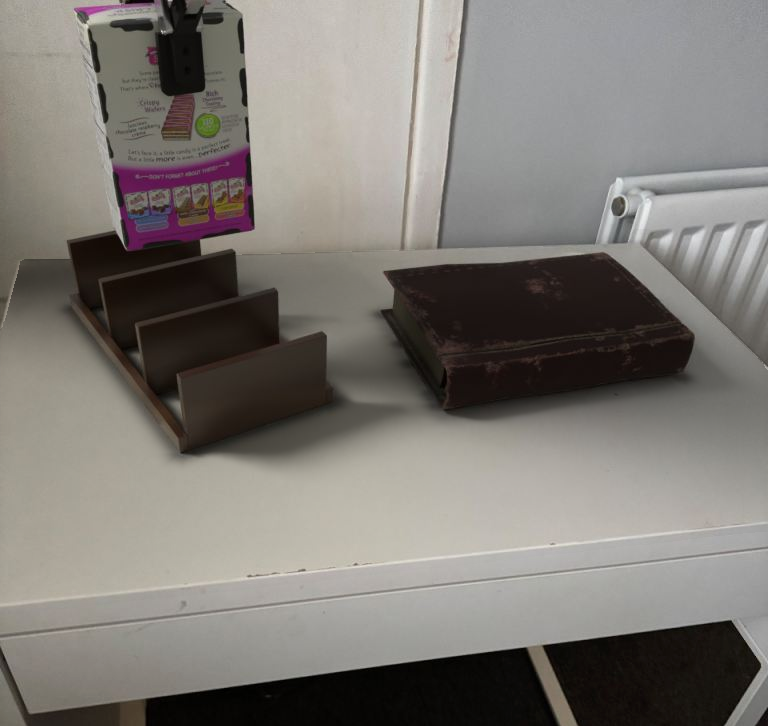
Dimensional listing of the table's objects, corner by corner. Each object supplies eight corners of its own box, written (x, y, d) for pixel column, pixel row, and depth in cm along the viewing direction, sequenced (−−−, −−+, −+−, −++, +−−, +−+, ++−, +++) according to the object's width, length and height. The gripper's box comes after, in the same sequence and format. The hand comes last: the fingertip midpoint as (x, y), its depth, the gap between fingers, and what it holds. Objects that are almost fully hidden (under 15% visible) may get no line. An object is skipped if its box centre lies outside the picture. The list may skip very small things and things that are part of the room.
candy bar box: (235, 208, 74) (223, -5, 62) (256, 232, 71) (247, 13, 59) (108, 227, 69) (70, 2, 58) (124, 253, 66) (87, 22, 55)
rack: (72, 308, 82) (57, 241, 78) (207, 275, 89) (202, 212, 84) (180, 453, 68) (170, 381, 63) (333, 401, 74) (335, 333, 69)
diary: (684, 380, 80) (701, 335, 77) (444, 418, 73) (450, 370, 70) (589, 286, 93) (601, 243, 89) (377, 311, 86) (380, 265, 82)
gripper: (23, -262, 53) (77, 53, 65) (125, -242, 43) (166, 125, 55) (136, -255, 56) (167, 44, 69) (255, -234, 46) (266, 110, 59)
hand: (166, 77), depth 62 cm, fingers closed on candy bar box, 5 cm apart
